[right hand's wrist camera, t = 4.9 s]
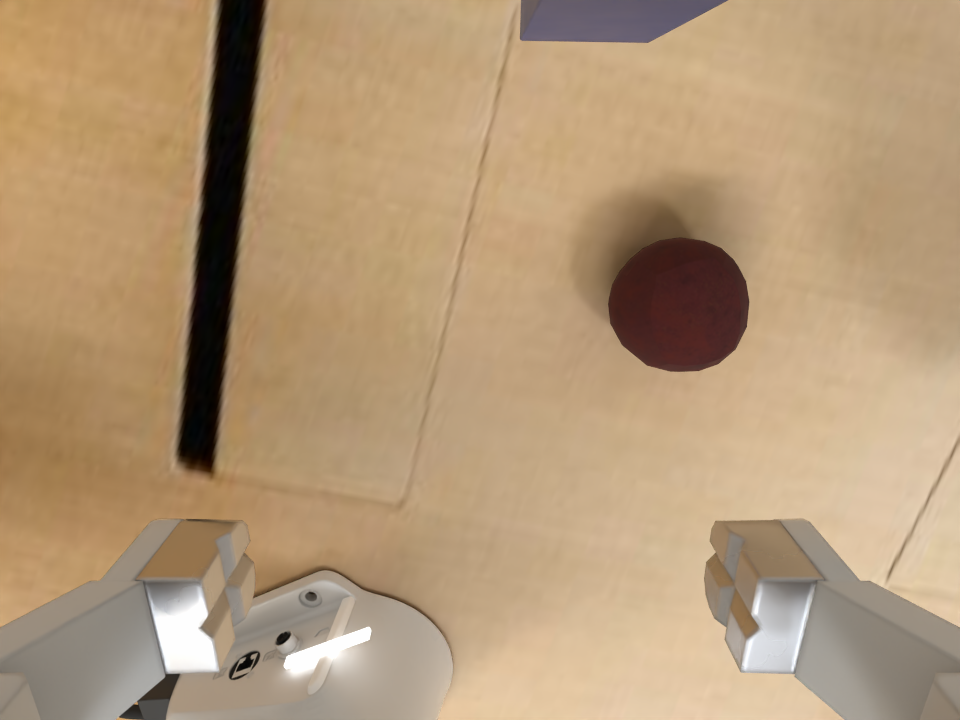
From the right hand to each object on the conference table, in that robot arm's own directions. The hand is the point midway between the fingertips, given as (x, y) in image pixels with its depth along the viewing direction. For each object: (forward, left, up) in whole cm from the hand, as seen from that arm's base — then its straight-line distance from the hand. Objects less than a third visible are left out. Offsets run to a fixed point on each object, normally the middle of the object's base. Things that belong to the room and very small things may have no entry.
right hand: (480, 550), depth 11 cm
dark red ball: (+10, -5, -28) cm, 30 cm away
